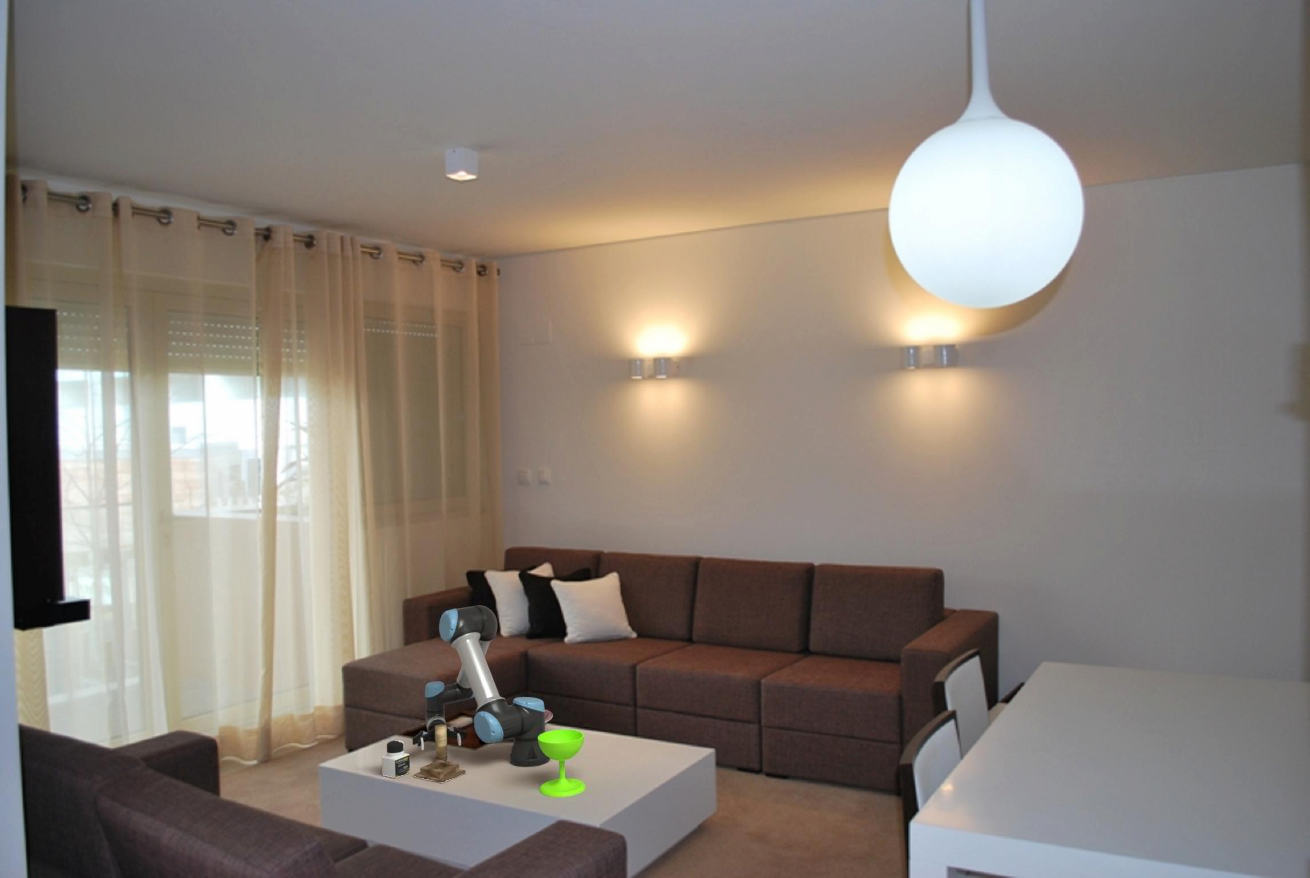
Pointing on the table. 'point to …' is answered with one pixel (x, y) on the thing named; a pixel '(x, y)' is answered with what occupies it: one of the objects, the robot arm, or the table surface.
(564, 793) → the wineglass
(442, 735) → the oak dowel
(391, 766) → the medicine bottle
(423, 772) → the brown stepped square base
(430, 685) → the robot arm
